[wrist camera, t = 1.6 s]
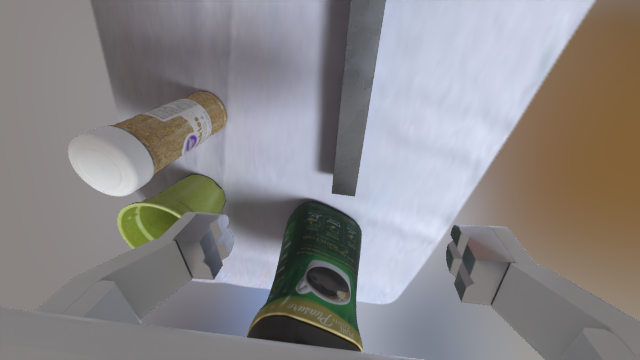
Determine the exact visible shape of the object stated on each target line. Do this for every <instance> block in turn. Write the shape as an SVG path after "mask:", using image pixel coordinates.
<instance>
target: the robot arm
mask: <svg viewBox="0 0 640 360" xmlns="http://www.w3.org/2000/svg"><path fill="white" fill-rule="evenodd" d="M229 223H230V222H229V219H228V216H227V215H225V214H217V213H203V212H201V213H200V212H187V213H185V214H184V215H183V216H181V217H180V218H179V219H178V220H177V221H176V222H175V223H174V224H173V225H172V226H171V227H170V228H169V229H168V230H167V231H166V232H165V233H164V234H163V235H162V236H161V237H160V238H159V239H158V240H157V239H154V240H151V241H149V242H147V243H145V244H143V245H141V246H139V247H136V248H134V249H132V250H130V251H128V252H126V253H124V254H121V255H119V256H117V257H115V258H113V259H111V260H109V261H107V262H104V263H102V264H100V265H98V266H96V267H94V268H92V269H90V270H87V271H85V272H83V273H81V274H79V275H77V276H75V277H74V278H72V279H71V280H70V281H69V282H68V283H66V284H65V285H64V286H63V287H61V288H60V289H59V290H58V291H57V292H55V293H54V294H53V295H52V296H50V298H48V299H47V300H46V301H44V302H43V303H42V304H41V305H40V306H38V307H37V308H36V309H35V310H33V311H32V310H23V309H16V308H9V307H1V306H0V360H423V359H415V358H406V357H399V356H390V355H382V354H375V353H367V352H359V351H350V350H342V349H334V348H326V347H318V346H311V345H303V344H295V343H287V342H279V341H271V340H263V339H255V338H247V337H239V336H230V335H223V334H215V333H207V332H199V331H191V330H183V329H175V328H167V327H159V326H151V325H143V323H142V322H141V320H140V319H141V318H143V317H144V316H146V315H147V314H148V313H149V312H151V311H152V310H153V309H155V308H156V307H157V306H159V305H160V304H161V303H162V302H164V301H165V300H166V299H167V298H169V297H170V296H171V295H173V294H174V293H175V292H177V291H178V290H179V289H180V288H182V287H183V286H184V285H186V284H187V283H188V282H190V281H191V280H192V278H193V279H210V280H214V279H215V277H216V276H217V274H218V272H219V271H220V269H221V267H222V266H223V263H222V260H223V259H225V258H226V257H228V256H229V254H230V253H231V251H232V248H233V244H234V236H233V233H232V231H231V230H230V229H229V228H228V225H229ZM451 236H452V239H453V241H452V242H450V243H449V244H448V246H447V251H446V260H447V265H448V268H449V271H450V273H451V274H452V275H454V276H455V277H456V280H455V283H454V284H455V287H456V290H457V292H458V294H459V297H460V300H461V302H464V303H473V304H482V305H490V306H492V308H493V309H494V310H495V311H496V312H497V313H498V314H499V315H500V316H501V317H502V318H503V319H504V320H505V321H506V322H507V323H508V324H509V325H510V326H511V327H512V328H513V329H514V330H515V331H516V332H517V333H518V334H519V335H520V336H521V337H522V338H524V339H525V340H526V341H527V342H528V343H529V344H530V345H531V346H532V347H533V348H534V349H535V350H536V351H537V352H538V353H539V354H540V355H541V356H542V357H543V358H544V359H545V360H640V321H638V320H637V319H635V318H633V317H632V316H630V315H628V314H626V313H624V312H623V311H621V310H620V309H618V308H616V307H614V306H613V305H611V304H609V303H607V302H606V301H604V300H602V299H601V298H599V297H597V296H595V295H594V294H592V293H590V292H589V291H587V290H585V289H583V288H582V287H580V286H578V285H576V284H575V283H573V282H571V281H570V280H568V279H566V278H564V277H562V276H561V275H559V274H558V273H556V272H554V271H552V270H551V269H549V268H547V267H545V266H544V265H537V264H536V262H535V261H534V260H533V259H532V257H531V256H530V255H529V254H528V252H527V251H526V250H525V248H524V247H523V246H522V245H521V244H520V242H519V241H518V240H517V239H516V237H515V236H514V235H513V233H512V232H511V231H510V229H509V228H507V227H505V226H466V225H465V226H464V225H454V226H453V228H452V231H451Z"/></svg>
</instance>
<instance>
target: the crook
mask: <svg viewBox="0 0 640 360" xmlns="http://www.w3.org/2000/svg"><path fill="white" fill-rule="evenodd" d="M385 2H386V0H351V2H350V13H349V23H348V33H347V43H346V53H345V63H344V74H343V84H342V94H341V104H340V114H339V124H338V135H337V145H336V155H335V165H334V175H333V185H332V194H340V195H348V196H355V192H356V186H357V179H358V173H359V167H360V160H361V154H362V148H363V141H364V135H365V129H366V122H367V116H368V110H369V103H370V97H371V91H372V85H373V78H374V72H375V66H376V59H377V53H378V47H379V40H380V34H381V28H382V21H383V15H384V9H385Z"/></svg>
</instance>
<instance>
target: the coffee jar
mask: <svg viewBox="0 0 640 360" xmlns="http://www.w3.org/2000/svg"><path fill="white" fill-rule="evenodd" d="M361 236H362V233H361V229H360V227H359V225H358V224H357V223H356V222H355V221H353V220H352V219H351V218H349V217H347V216H346V215H344V214H342V213H340V212H338V211H336V210H334V209H332V208H329V207H327V206H324V205H322V204H318V203H313V202H310V203H305V204H303V205H301V206H299V207H298V208H297V209H296V210H295V211H294V213H293V214H292V216H291V217H290V219H289V221H288V224H287V227H286V230H285V234H284V238H283V242H282V247H281V252H280V257H279V262H278V266H277V271H276V275H275V279H274V282H273V285H272V288H271V291H270V294H269V297H268V300H267V302H266V304H265V305H264V306H263V307H262V308H261V309H260V311H259V312H258V313H257V315H256V316H255V318H254V320H253V322H252V324H251V326H250V328H249V331H248V334H247V338H255V339H263V340H271V341H279V342H287V343H295V344H303V345H311V346H318V347H326V348H334V349H342V350H350V351H359V352H363V347H362V341H361V337H360V333H359V329H358V325H357V319H356V318H357V317H356V291H357V277H358V268H359V260H360V251H361Z"/></svg>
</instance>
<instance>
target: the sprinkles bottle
mask: <svg viewBox="0 0 640 360" xmlns="http://www.w3.org/2000/svg"><path fill="white" fill-rule="evenodd" d="M226 122H227V113H226V109H225V107H224V105H223V104H222V103H221V101H220V100H219V99H218V98H217V97H215V96H214V95H213V94H211V93H209V92H203V91H201V92H196V93H194V94H192V95H191V96H189V97H186V98H183V99H179V100H176V101H173V102H171V103H168V104H165V105H163V106H160V107H157V108H155V109H152V110H150V111H147V112H144V113H142V114H139V115H137V116H135V117H133V118H131V119H128V120H125V121H123V122H120V123H117V124H116V125H111V126H103V127H99V128H96V129H93V130H91V131H88V132H86V133H83V134H81V135H78V136H76V137H75V138H74V139H73V140H72V141H71V142H70V144H69V147H68V155H69V159H70V162H71V164H72V166H73V168H74V169H75V171H76V172H77V173H78V175H79V176H80V177H81V178H82V179H83V180H84V181H85V182H86V183H88V184H89V185H90V186H92V187H93V188H95V189H97V190H98V191H100V192H103V193H105V194H108V195H112V196H126V195H129V194H131V193H133V192H134V191H136V190H138V189H139V188H141V187H142V186H143V185H145V184H146V183H148V182H149V181H150V180H151V178H152V176H153V175H154V174H155V173H157V172H158V171H160V170H161V169H163V168H164V167H166V166H167V165H169V164H170V163H171V162H173V161H174V160H176V159H177V158H179V157H180V156H182V155H184V154H186V153H187V152H189V151H190V150H192V149H193V148H195V147H196V146H198V145H199V144H201V143H202V142H204V141H205V140H206V139H207V138H208V137H210V136H211V135H213V134H214V133H217V132H219V131H220V130H222V129H223V127H224V126H225V124H226Z"/></svg>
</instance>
